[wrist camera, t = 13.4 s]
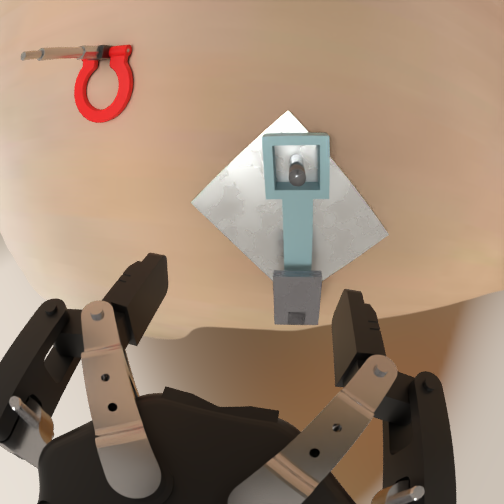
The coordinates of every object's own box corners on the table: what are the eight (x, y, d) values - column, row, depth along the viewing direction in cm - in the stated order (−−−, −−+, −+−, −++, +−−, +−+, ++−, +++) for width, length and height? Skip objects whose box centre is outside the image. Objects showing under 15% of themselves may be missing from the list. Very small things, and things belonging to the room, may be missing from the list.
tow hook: (132, 122, 29) (140, 43, 23) (50, 152, 17) (55, 36, 12) (78, 120, 29) (83, 51, 24) (-1, 151, 18) (0, 57, 12)
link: (264, 133, 27) (261, 136, 24) (325, 132, 26) (329, 135, 23) (272, 275, 35) (270, 290, 33) (322, 275, 34) (324, 290, 32)
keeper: (315, 291, 37) (317, 324, 31) (278, 290, 38) (274, 324, 32) (318, 246, 33) (322, 277, 28) (276, 246, 34) (272, 276, 29)
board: (288, 110, 26) (288, 110, 25) (387, 231, 31) (388, 234, 30) (192, 200, 33) (190, 202, 32) (292, 296, 38) (292, 299, 37)
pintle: (296, 151, 28) (298, 166, 21) (305, 161, 28) (309, 179, 22) (286, 160, 28) (285, 177, 22) (295, 170, 28) (296, 189, 22)
